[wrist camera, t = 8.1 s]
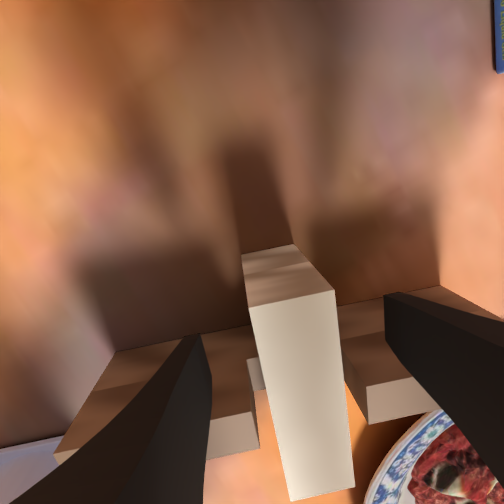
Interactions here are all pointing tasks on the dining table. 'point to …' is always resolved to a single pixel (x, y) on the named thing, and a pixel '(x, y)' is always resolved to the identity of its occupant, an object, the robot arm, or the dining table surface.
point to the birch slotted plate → (301, 368)
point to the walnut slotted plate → (251, 377)
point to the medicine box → (499, 35)
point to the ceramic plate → (433, 468)
